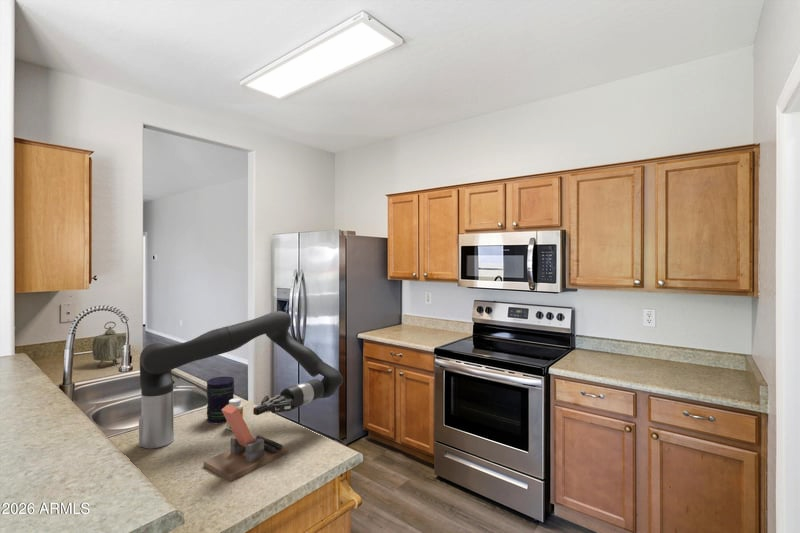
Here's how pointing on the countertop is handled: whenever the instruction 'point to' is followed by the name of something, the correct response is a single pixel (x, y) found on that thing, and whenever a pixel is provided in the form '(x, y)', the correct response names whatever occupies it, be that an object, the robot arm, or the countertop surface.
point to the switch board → (245, 457)
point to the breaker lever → (237, 425)
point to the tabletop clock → (108, 346)
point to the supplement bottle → (235, 403)
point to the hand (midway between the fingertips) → (254, 411)
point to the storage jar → (219, 397)
